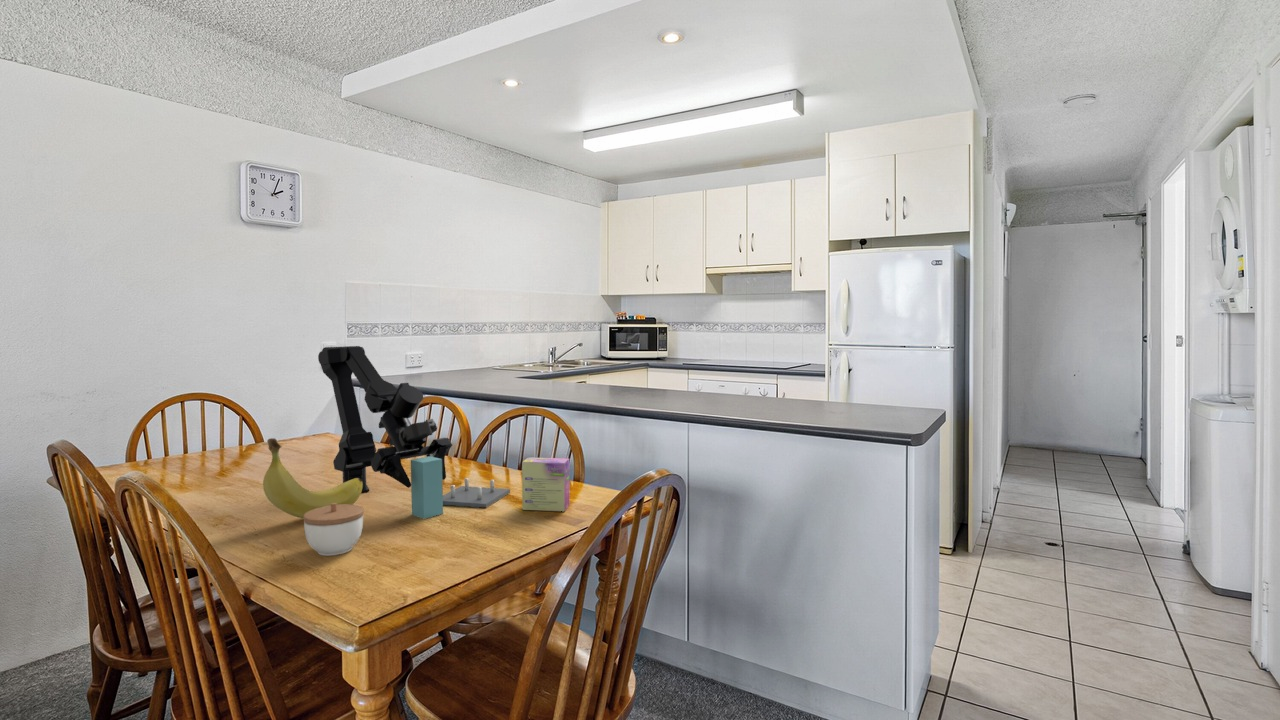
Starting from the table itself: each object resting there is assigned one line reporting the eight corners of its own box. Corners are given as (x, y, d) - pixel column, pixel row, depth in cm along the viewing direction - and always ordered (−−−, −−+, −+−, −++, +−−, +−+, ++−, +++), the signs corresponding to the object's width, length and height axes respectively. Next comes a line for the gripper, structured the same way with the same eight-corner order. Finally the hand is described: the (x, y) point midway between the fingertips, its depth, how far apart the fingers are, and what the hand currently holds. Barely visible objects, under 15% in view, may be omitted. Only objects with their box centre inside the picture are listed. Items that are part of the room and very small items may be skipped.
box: (570, 505, 160) (569, 457, 159) (565, 512, 154) (564, 462, 153) (528, 504, 161) (528, 456, 160) (522, 510, 155) (521, 461, 154)
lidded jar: (342, 562, 122) (341, 513, 122) (291, 558, 124) (290, 510, 124) (375, 542, 133) (374, 497, 132) (328, 539, 135) (326, 495, 134)
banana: (355, 504, 160) (353, 423, 159) (369, 508, 157) (367, 426, 155) (259, 529, 141) (256, 438, 140) (273, 534, 138) (270, 440, 137)
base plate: (433, 504, 160) (433, 488, 160) (461, 489, 174) (461, 474, 173) (486, 508, 157) (485, 491, 157) (510, 492, 171) (510, 477, 170)
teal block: (411, 514, 152) (410, 459, 151) (430, 510, 155) (429, 456, 155) (424, 519, 148) (423, 462, 148) (443, 513, 152) (442, 459, 152)
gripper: (375, 413, 146) (404, 468, 140) (446, 405, 161) (475, 454, 155) (358, 444, 152) (385, 498, 145) (429, 433, 166) (456, 482, 160)
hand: (427, 482), depth 151 cm, fingers open, 9 cm apart
